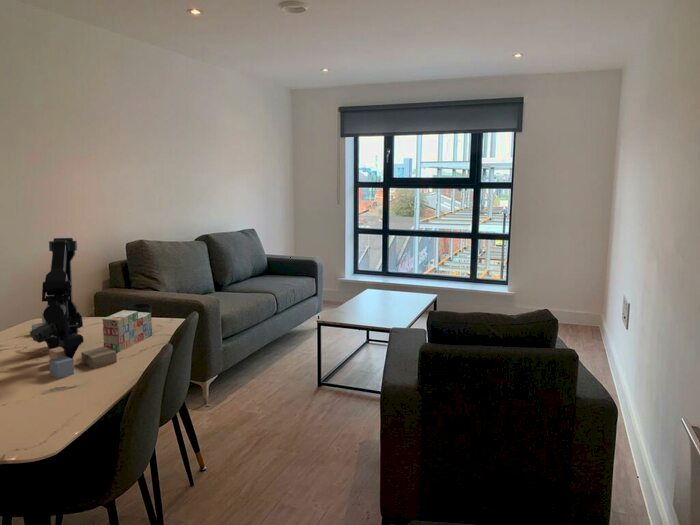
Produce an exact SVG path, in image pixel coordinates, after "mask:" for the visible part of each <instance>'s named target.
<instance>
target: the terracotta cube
mask: <svg viewBox="0 0 700 525" xmlns="http://www.w3.org/2000/svg"><path fill="white" fill-rule="evenodd" d="M48 352H49V360H51V359H55V358H59V357H63V356H65V353H64V349H63V348H61V347H60V346H59V347H57V348H53V349H49V348H48Z"/></svg>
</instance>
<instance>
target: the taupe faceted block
mask: <svg viewBox="0 0 700 525" xmlns="http://www.w3.org/2000/svg"><path fill="white" fill-rule="evenodd" d="M80 354H81V363H82V364H84V365H86V366H88V367H89V368H91V369H96V368H101V367H105V366H108V365H111V364H116V363H117V362H118V358H117V356H118V355H117V352H116V351H113V350H111V349H109V348H107V347H104V346H102V347H97V348H93V349H89V350H86V351H81V352H80Z"/></svg>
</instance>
